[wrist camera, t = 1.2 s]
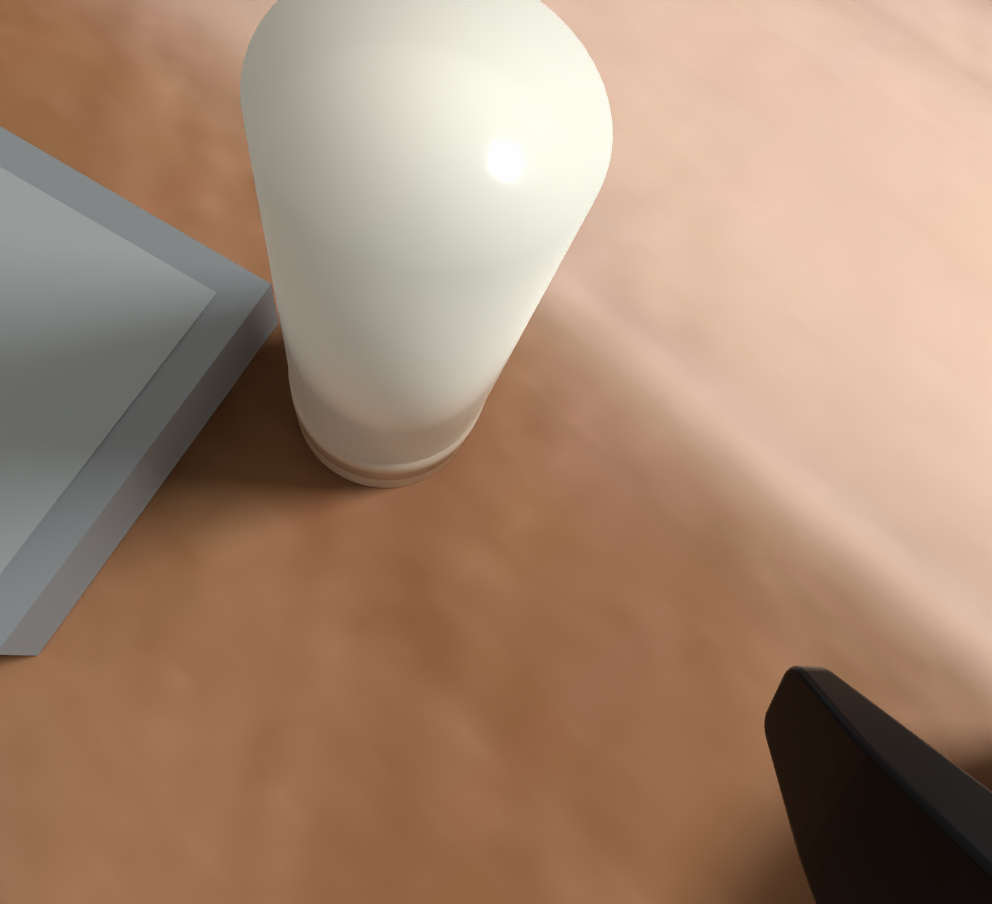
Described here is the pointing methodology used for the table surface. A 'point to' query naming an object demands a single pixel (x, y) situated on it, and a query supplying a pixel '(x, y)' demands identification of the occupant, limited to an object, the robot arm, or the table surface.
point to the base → (98, 374)
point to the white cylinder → (414, 208)
